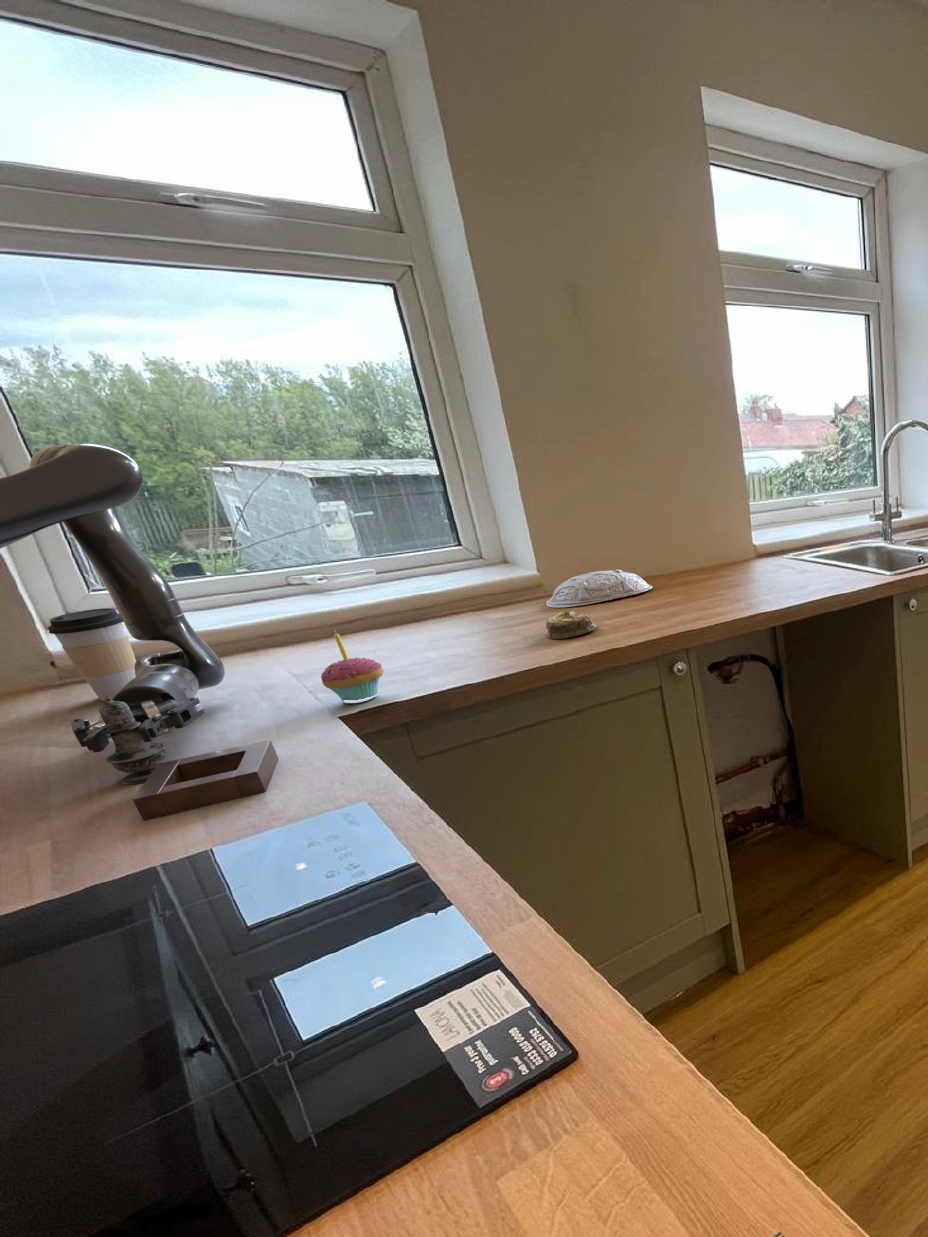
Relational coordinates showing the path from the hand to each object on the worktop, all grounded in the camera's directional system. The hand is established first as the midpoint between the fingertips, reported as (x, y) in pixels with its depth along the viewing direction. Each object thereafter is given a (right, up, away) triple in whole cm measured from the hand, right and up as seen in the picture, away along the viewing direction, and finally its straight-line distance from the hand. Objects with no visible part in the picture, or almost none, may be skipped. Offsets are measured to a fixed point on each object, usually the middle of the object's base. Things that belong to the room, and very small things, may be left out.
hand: (120, 740), depth 102 cm
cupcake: (+10, +6, +29) cm, 31 cm away
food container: (+24, +32, +88) cm, 97 cm away
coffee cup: (-38, +7, +36) cm, 53 cm away
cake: (+31, +20, +60) cm, 71 cm away
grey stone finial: (-1, -5, +5) cm, 7 cm away
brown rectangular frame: (+12, -6, +1) cm, 14 cm away
